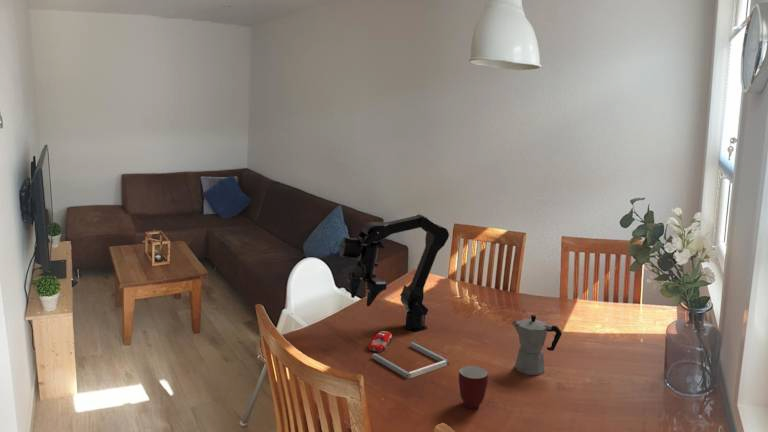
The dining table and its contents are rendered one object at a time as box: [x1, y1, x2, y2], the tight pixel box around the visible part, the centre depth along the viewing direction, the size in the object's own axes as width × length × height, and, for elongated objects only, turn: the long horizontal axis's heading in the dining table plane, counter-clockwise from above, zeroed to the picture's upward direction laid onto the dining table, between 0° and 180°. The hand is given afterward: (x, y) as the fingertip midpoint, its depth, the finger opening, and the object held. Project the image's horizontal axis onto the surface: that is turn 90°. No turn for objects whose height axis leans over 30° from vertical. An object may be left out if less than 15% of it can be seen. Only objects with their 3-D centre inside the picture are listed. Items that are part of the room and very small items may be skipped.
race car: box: [368, 330, 393, 353], centre depth 216 cm, size 13×5×4 cm, turn 160°
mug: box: [458, 365, 489, 409], centre depth 178 cm, size 11×8×10 cm
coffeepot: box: [511, 314, 563, 376], centre depth 199 cm, size 15×9×18 cm, turn 68°
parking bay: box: [372, 341, 450, 380], centre depth 204 cm, size 17×18×2 cm
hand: (360, 301), depth 222 cm, fingers open, 9 cm apart
